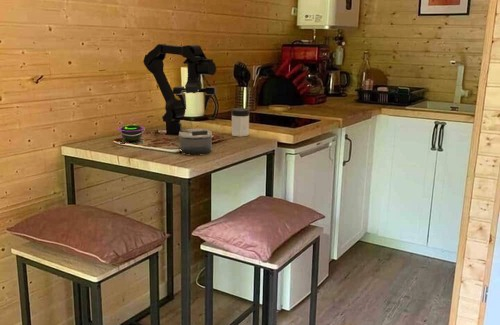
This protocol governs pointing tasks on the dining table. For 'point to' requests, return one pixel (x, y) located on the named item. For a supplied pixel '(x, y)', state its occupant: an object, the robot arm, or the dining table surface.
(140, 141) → the toy cauldron
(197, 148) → the cooker pot
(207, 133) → the cooker lid
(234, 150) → the dining table surface
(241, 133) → the jar
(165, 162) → the dining table surface
